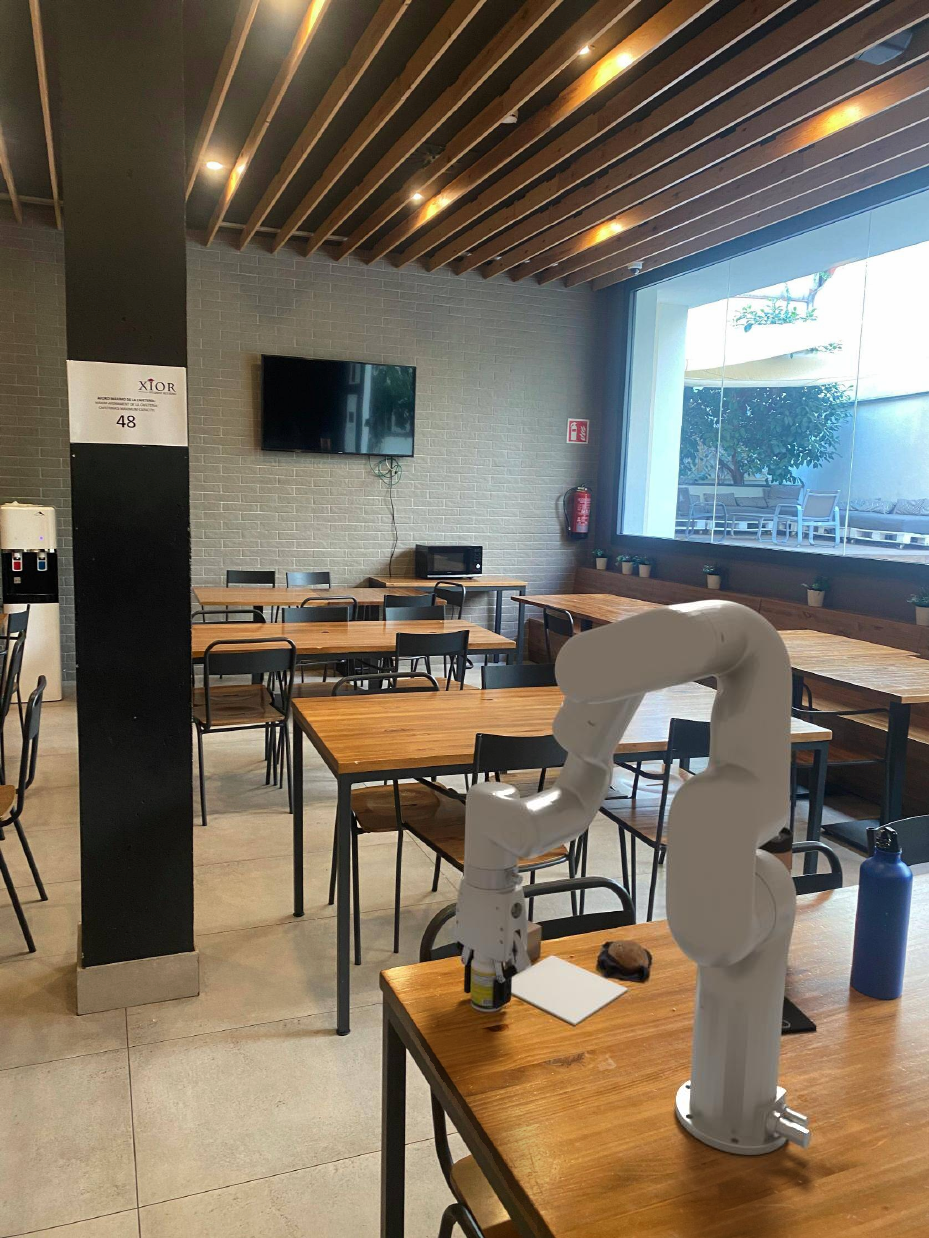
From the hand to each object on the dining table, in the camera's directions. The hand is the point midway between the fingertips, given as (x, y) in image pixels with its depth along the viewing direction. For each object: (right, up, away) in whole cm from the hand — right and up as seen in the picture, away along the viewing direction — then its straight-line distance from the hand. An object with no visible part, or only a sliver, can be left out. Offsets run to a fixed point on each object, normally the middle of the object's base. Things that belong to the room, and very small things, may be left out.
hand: (487, 995), depth 125 cm
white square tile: (+11, -1, +5) cm, 12 cm away
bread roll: (+22, -1, +13) cm, 25 cm away
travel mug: (+45, -1, +18) cm, 48 cm away
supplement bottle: (0, -1, 0) cm, 1 cm away
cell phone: (+39, -2, +4) cm, 39 cm away
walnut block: (+5, 0, +14) cm, 15 cm away
